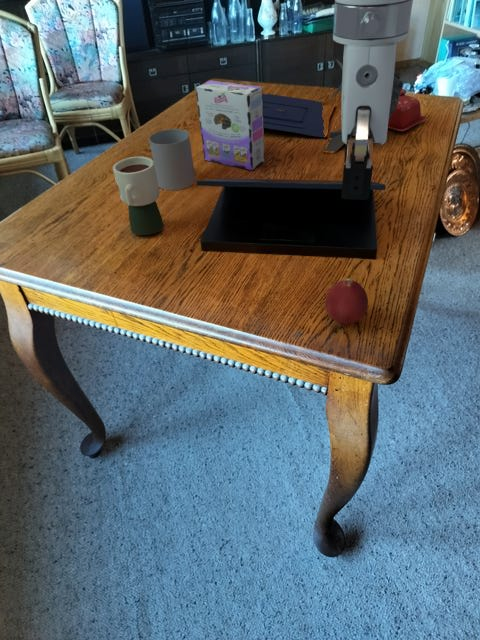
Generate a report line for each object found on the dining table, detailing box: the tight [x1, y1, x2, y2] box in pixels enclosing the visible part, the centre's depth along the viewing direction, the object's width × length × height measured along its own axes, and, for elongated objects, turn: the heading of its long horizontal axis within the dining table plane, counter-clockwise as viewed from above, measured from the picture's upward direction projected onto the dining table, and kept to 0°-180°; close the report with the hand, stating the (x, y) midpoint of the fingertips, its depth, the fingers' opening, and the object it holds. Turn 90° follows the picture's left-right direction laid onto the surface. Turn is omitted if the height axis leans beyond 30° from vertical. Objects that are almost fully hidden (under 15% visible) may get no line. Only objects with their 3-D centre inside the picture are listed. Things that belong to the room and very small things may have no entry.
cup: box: [148, 128, 196, 192], centre depth 100 cm, size 8×8×10 cm
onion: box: [324, 277, 369, 325], centre depth 64 cm, size 6×6×8 cm
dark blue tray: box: [262, 93, 325, 138], centre depth 126 cm, size 24×30×4 cm
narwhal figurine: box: [324, 58, 404, 153], centre depth 106 cm, size 14×15×18 cm
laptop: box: [200, 187, 379, 260], centre depth 87 cm, size 22×30×2 cm
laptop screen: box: [195, 177, 387, 191], centre depth 84 cm, size 22×30×1 cm
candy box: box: [194, 79, 265, 171], centre depth 104 cm, size 14×6×16 cm, turn 57°
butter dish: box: [388, 88, 427, 132], centre depth 117 cm, size 12×12×8 cm
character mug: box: [112, 155, 165, 236], centre depth 85 cm, size 11×7×13 cm, turn 173°
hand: (355, 179), depth 59 cm, fingers open, 9 cm apart
